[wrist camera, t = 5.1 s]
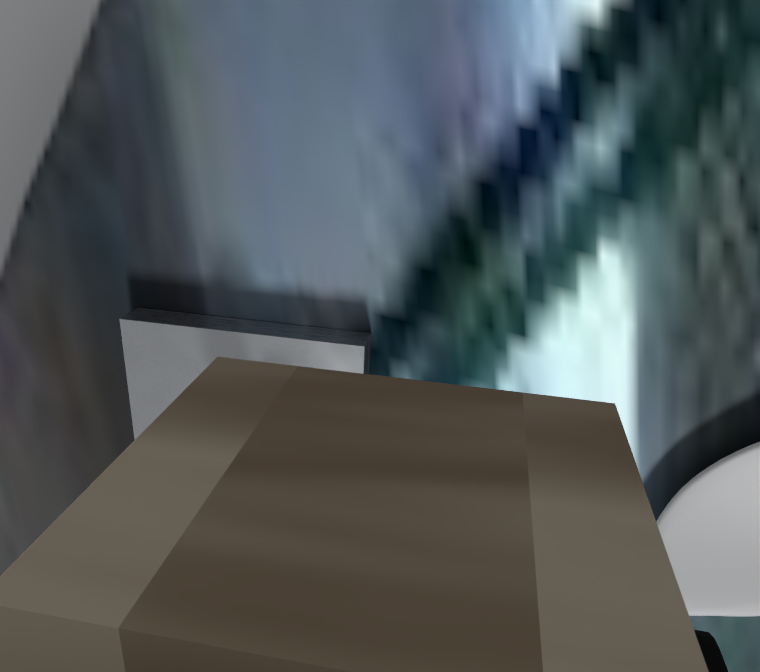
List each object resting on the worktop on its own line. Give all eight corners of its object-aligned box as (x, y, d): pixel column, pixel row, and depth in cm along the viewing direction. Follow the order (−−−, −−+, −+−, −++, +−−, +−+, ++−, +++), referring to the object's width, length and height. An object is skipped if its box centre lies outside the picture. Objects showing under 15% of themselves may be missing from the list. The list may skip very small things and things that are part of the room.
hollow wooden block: (217, 356, 10) (-25, 600, 5) (614, 403, 9) (732, 744, 4) (235, 635, 12) (79, 970, 8) (551, 693, 11) (586, 1109, 7)
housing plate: (137, 307, 29) (62, 356, 24) (371, 333, 27) (343, 390, 22) (165, 560, 35) (110, 641, 30) (359, 592, 33) (335, 684, 28)
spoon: (270, 625, 36) (248, 678, 33) (873, 365, 25) (928, 407, 21) (361, 728, 38) (348, 787, 35) (957, 530, 27) (1019, 591, 24)
